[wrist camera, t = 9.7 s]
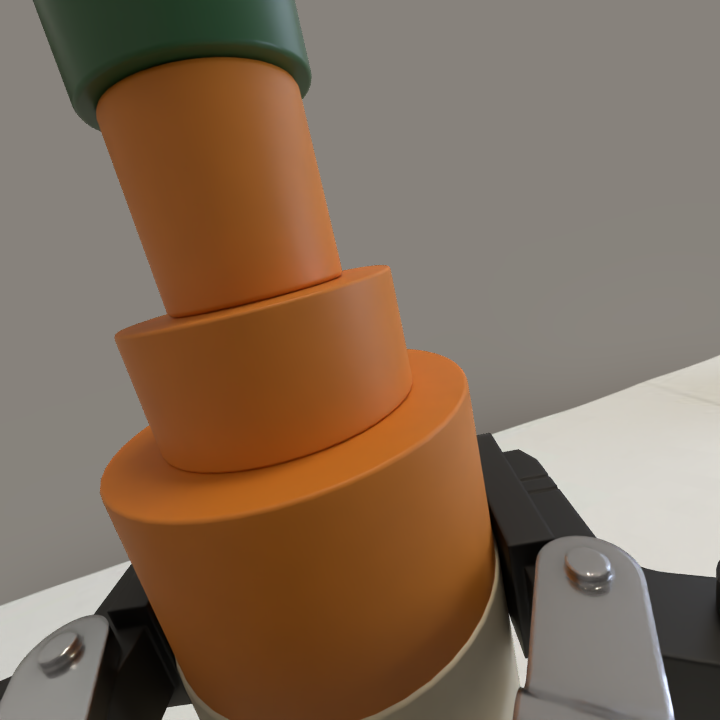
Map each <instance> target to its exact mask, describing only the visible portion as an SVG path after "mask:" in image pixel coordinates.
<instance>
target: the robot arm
mask: <svg viewBox="0 0 720 720" xmlns="http://www.w3.org/2000/svg"><path fill="white" fill-rule="evenodd" d="M476 436H477V442H478V448H479V454H480V460H481V466H482V472H483V478H484V484H485V491H486V497H487V503H488V509H489V515H490V521H491V527H492V531H493V533H494V536H495V539H496V541H497V545H498V551H499V557H500V563H501V570H502V576H503V582H504V588H505V594H506V601H507V607H508V613H509V615H510V618H511V621H512V623H513V626H514V629H515V632H516V634H517V637H518V640H519V642H520V645H521V648H522V650H523V653H524V656H525V658H528V665H527V676H526V683H525V687H524V688H522V687H519V689H518V691H517V694H516V699H515V704H514V711H513V720H720V561H719V562H718V565H717V569H716V578H715V577H705V576H695V575H685V574H675V573H666V572H659V571H654V570H650V569H646V568H643V567H640V565H639V564H638V563H637V562H636V560H635V559H634V558H633V557H631V556H630V555H629V554H628V553H627V552H625V551H624V550H622V549H621V548H619V547H617V546H615V545H614V544H612V543H609V542H607V541H604V540H601V539H597V538H596V537H595V535H594V534H593V533H592V531H591V530H590V529H589V527H588V526H587V525H586V524H585V522H584V521H583V520H582V518H581V517H580V516H579V514H578V513H577V512H576V510H575V509H574V508H573V506H572V505H571V504H570V502H569V501H568V500H567V498H566V497H565V496H564V495H563V493H562V492H561V491H560V489H558V488H557V485H556V484H555V483H554V481H553V480H552V479H551V477H549V476H548V473H547V472H546V471H545V469H544V468H543V467H542V466H541V464H540V463H539V462H538V460H537V459H535V458H533V457H531V456H530V455H528V454H526V453H524V452H522V451H521V450H519V449H518V450H513V451H507V452H502V451H501V449H500V448H499V446H498V444H497V443H496V441H495V440H494V438H493V436H492V435H491V434H490V433H486V434H481V435H476ZM187 704H192V702H191V700H190V698H189V696H188V693H187V691H186V689H185V687H184V685H183V682H182V680H181V677H180V675H179V672H178V670H177V665H176V659H175V655H174V653H173V651H172V649H171V647H170V644H169V642H168V640H167V638H166V636H165V634H164V632H163V630H162V627H161V625H160V623H159V621H158V619H157V617H156V615H155V612H154V610H153V608H152V606H151V604H150V602H149V600H148V597H147V595H146V593H145V591H144V589H143V587H142V585H141V582H140V580H139V578H138V576H137V574H136V572H135V570H134V567H133V565H132V564H131V565H130V567H129V568H128V569H127V571H126V572H125V573H124V575H123V576H122V577H121V579H120V580H119V581H118V583H117V584H116V585H115V587H114V588H113V589H112V591H111V592H110V593H109V595H108V596H107V597H106V599H105V600H104V601H103V603H102V604H101V605H100V607H99V608H98V609H97V611H96V612H95V614H94V615H89V616H85V617H81V618H79V619H76V620H74V621H72V622H70V623H68V624H66V625H64V626H62V627H61V628H59V629H57V630H56V631H54V632H53V633H51V634H50V635H49V636H47V637H46V638H45V639H44V640H42V641H41V642H40V643H39V644H38V645H37V646H35V647H34V648H33V649H32V650H31V651H30V652H29V653H28V654H27V656H26V657H25V658H24V659H23V660H22V662H21V663H20V664H19V666H18V667H17V669H16V670H15V672H14V674H13V676H11V677H9V678H6V679H4V680H2V681H0V720H162V717H163V715H164V713H165V711H166V708H167V707H173V706H180V705H187Z"/></svg>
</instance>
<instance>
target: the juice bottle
mask: <svg viewBox="0 0 720 720" xmlns="http://www.w3.org/2000/svg"><path fill="white" fill-rule="evenodd" d="M33 2H34V4H35V7H36V10H37V13H38V15H39V18H40V20H41V23H42V26H43V29H44V31H45V34H46V37H47V39H48V42H49V45H50V47H51V50H52V53H53V55H54V58H55V61H56V63H57V65H58V68H59V71H60V74H61V77H62V79H63V82H64V85H65V87H66V90H67V92H68V95H69V98H70V101H71V103H72V106H73V108H74V110H75V112H76V113H77V115H78V116H79V117H80V118H81V119H82V120H83V121H84V122H85V123H86V124H88V125H89V126H91V127H92V128H95V129H96V130H99V131H101V132H102V135H103V138H104V140H105V143H106V146H107V149H108V152H109V154H110V157H111V160H112V163H113V165H114V168H115V171H116V174H117V177H118V179H119V182H120V185H121V187H122V190H123V193H124V196H125V199H126V201H127V204H128V206H129V210H130V212H131V215H132V218H133V221H134V223H135V226H136V229H137V232H138V234H139V237H140V240H141V242H142V245H143V248H144V251H145V254H146V257H147V259H148V262H149V264H150V267H151V270H152V273H153V276H154V279H155V281H156V284H157V287H158V290H159V292H160V295H161V298H162V300H163V303H164V306H165V309H166V312H167V314H166V315H163V316H160V317H156V318H153V319H150V320H148V321H144V322H142V323H138V324H136V325H133V326H130V327H128V328H125V329H123V330H121V331H119V332H118V333H117V334H116V335H115V341H116V344H117V346H118V349H119V351H120V354H121V356H122V358H123V361H124V364H125V366H126V368H127V371H128V373H129V376H130V378H131V381H132V383H133V386H134V388H135V391H136V393H137V395H138V398H139V401H140V403H141V405H142V408H143V410H144V413H145V415H146V418H147V420H148V423H149V426H148V427H146V428H145V429H144V430H142V431H141V432H140V433H138V434H137V435H136V436H134V437H133V438H132V439H131V440H130V441H129V442H128V443H126V444H125V445H124V446H123V447H122V448H121V449H120V450H119V452H117V454H116V455H115V456H114V457H113V458H112V460H111V461H110V463H109V464H108V465H107V467H106V468H105V471H104V474H103V476H102V478H101V487H100V495H101V497H102V500H103V503H104V505H105V507H106V509H107V512H108V514H109V516H110V518H111V520H112V522H113V525H114V527H115V529H116V531H117V533H118V535H119V537H120V540H121V541H122V544H123V546H124V548H125V550H126V552H127V554H128V557H129V559H130V561H131V563H132V565H133V567H134V570H135V572H136V574H137V576H138V578H139V580H140V582H141V585H142V587H143V589H144V591H145V593H146V595H147V597H148V600H149V602H150V604H151V606H152V608H153V610H154V612H155V615H156V617H157V619H158V621H159V623H160V625H161V627H162V630H163V632H164V634H165V636H166V638H167V640H168V642H169V644H170V647H171V649H172V651H173V653H174V655H175V659H176V665H177V670H178V672H179V675H180V677H181V680H182V682H183V685H184V687H185V689H186V691H187V693H188V696H189V698H190V700H191V702H192V704H193V706H194V708H195V710H196V713H197V715H198V717H199V719H200V720H513V711H514V704H515V699H516V694H517V691H518V689H519V687H520V681H519V675H518V669H517V663H516V656H515V650H514V644H513V638H512V632H511V625H510V619H509V613H508V607H507V601H506V594H505V588H504V582H503V576H502V570H501V563H500V557H499V551H498V545H497V541H496V539H495V536H494V533H493V531H492V527H491V521H490V515H489V509H488V503H487V497H486V491H485V484H484V478H483V472H482V466H481V460H480V454H479V448H478V442H477V436H476V430H475V423H474V418H473V411H472V406H471V399H470V393H469V387H468V381H467V378H466V376H465V374H464V372H463V370H462V369H461V368H460V367H459V366H458V365H457V364H456V363H455V362H453V361H452V360H450V359H448V358H446V357H444V356H441V355H438V354H435V353H431V352H427V351H421V350H413V349H406V344H405V339H404V334H403V329H402V324H401V319H400V314H399V310H398V304H397V299H396V294H395V289H394V285H393V280H392V275H391V270H390V267H389V266H386V265H375V266H367V267H360V268H355V269H349V270H344V271H342V268H341V263H340V259H339V255H338V251H337V247H336V242H335V238H334V234H333V230H332V225H331V221H330V217H329V213H328V209H327V204H326V200H325V196H324V191H323V187H322V183H321V179H320V174H319V170H318V166H317V162H316V157H315V153H314V149H313V145H312V140H311V136H310V132H309V128H308V124H307V119H306V115H305V111H304V106H303V102H302V99H303V98H304V96H305V95H306V94H307V92H308V90H309V88H310V85H311V70H310V66H309V61H308V57H307V53H306V48H305V44H304V39H303V35H302V31H301V27H300V22H299V17H298V13H297V9H296V4H295V0H33Z"/></svg>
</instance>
